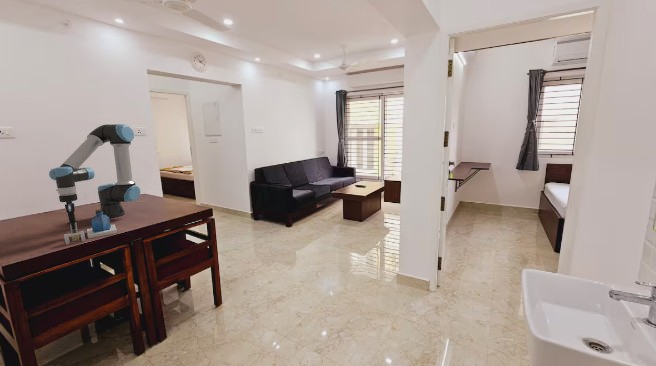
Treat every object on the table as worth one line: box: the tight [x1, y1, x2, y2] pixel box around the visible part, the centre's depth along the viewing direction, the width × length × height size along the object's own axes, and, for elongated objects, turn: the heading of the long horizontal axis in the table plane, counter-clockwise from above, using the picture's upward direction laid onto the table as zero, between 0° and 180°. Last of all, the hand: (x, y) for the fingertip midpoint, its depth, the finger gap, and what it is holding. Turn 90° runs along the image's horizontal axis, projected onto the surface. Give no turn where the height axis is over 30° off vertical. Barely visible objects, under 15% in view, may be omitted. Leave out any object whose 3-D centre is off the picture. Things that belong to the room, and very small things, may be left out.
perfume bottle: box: [90, 209, 112, 231], centre depth 168 cm, size 6×6×12 cm
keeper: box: [63, 230, 86, 246], centre depth 155 cm, size 2×8×5 cm, turn 131°
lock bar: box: [70, 228, 80, 242], centre depth 160 cm, size 8×3×5 cm, turn 41°
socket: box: [86, 223, 118, 239], centre depth 169 cm, size 14×14×2 cm
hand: (74, 233), depth 164 cm, fingers closed
